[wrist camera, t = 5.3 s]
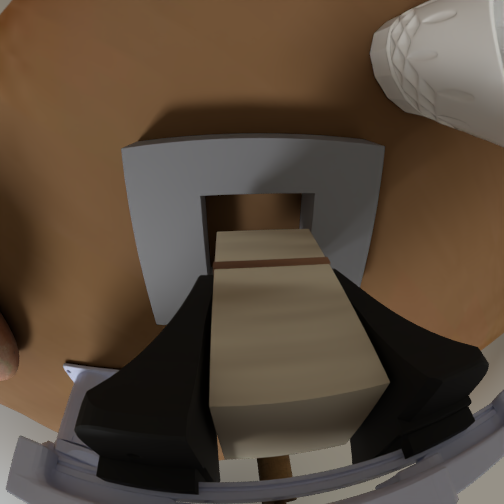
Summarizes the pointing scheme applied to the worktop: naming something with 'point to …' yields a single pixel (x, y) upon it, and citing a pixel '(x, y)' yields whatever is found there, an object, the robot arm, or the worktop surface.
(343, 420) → the peg
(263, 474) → the brown capped rod
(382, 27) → the white cup
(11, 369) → the ceramic jug
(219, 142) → the socket board
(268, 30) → the worktop surface
